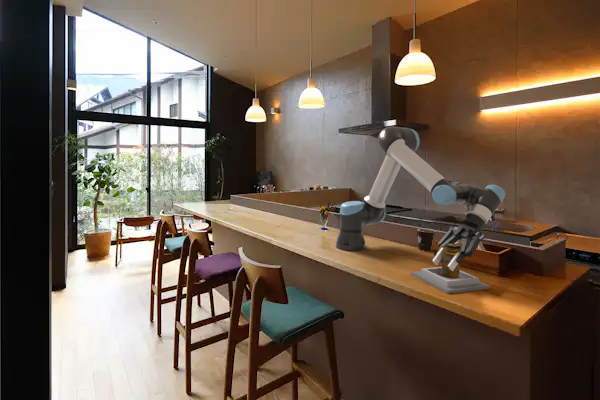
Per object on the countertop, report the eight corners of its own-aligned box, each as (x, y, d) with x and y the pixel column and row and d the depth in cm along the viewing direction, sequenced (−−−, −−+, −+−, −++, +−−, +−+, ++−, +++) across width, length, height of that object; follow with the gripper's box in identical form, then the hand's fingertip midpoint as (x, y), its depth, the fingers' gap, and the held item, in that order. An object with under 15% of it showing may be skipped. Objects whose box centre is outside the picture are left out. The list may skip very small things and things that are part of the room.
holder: (411, 274, 130) (411, 266, 130) (449, 270, 135) (449, 263, 135) (447, 293, 111) (447, 284, 111) (489, 288, 116) (490, 280, 116)
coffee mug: (435, 252, 164) (436, 232, 163) (417, 251, 166) (418, 231, 164) (431, 246, 175) (432, 228, 174) (414, 245, 177) (415, 227, 176)
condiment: (464, 277, 122) (467, 246, 120) (447, 280, 118) (449, 248, 117) (448, 271, 128) (451, 241, 127) (431, 274, 125) (434, 243, 123)
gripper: (504, 230, 119) (470, 280, 114) (458, 221, 136) (427, 264, 131) (496, 216, 116) (460, 267, 111) (450, 209, 133) (417, 252, 128)
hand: (442, 265), depth 121 cm, fingers open, 6 cm apart
